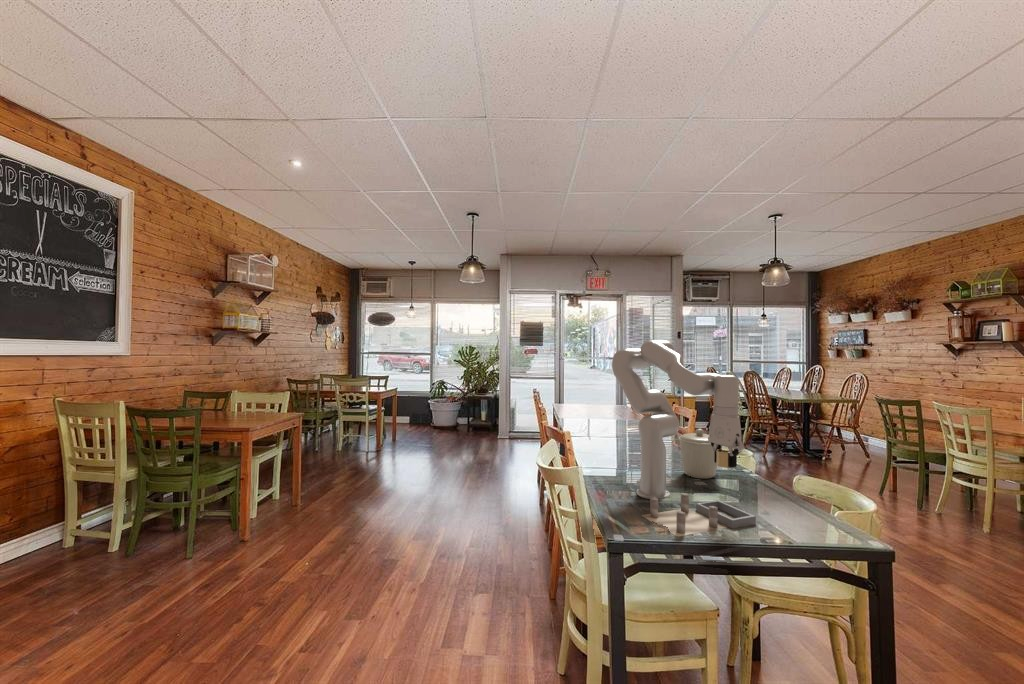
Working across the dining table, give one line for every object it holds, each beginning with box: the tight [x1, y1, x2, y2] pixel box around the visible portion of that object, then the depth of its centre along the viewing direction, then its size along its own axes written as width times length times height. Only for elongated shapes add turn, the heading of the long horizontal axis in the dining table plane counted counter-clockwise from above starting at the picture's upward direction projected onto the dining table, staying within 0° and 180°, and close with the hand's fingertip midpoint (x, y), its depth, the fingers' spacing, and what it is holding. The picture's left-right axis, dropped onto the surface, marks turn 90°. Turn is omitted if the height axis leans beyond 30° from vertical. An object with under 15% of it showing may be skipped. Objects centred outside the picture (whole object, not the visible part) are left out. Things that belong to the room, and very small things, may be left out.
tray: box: [695, 499, 757, 529], centre depth 157 cm, size 16×10×4 cm, turn 21°
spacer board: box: [640, 492, 729, 538], centre depth 153 cm, size 18×20×7 cm
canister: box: [678, 428, 718, 480], centre depth 208 cm, size 18×18×21 cm
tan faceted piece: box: [716, 448, 734, 469], centre depth 157 cm, size 5×6×5 cm
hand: (725, 464), depth 157 cm, fingers closed on tan faceted piece, 5 cm apart
